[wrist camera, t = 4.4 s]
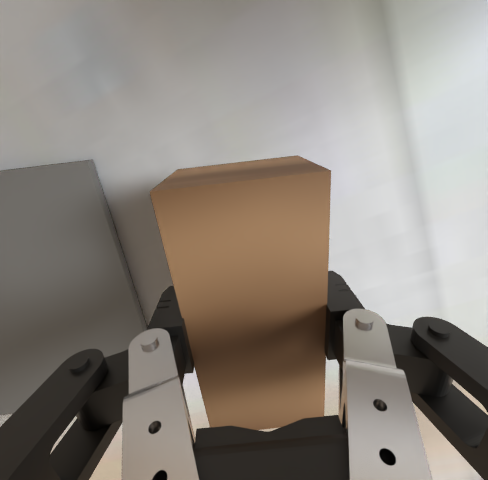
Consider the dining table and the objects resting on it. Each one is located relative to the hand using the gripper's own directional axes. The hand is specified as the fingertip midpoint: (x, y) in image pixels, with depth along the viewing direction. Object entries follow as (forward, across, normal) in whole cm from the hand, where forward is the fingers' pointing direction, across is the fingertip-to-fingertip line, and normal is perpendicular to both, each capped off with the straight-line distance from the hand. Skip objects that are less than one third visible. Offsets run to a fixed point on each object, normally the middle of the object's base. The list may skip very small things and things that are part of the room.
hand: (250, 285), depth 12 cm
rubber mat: (+4, +17, +3) cm, 18 cm away
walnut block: (+1, 0, 0) cm, 1 cm away
